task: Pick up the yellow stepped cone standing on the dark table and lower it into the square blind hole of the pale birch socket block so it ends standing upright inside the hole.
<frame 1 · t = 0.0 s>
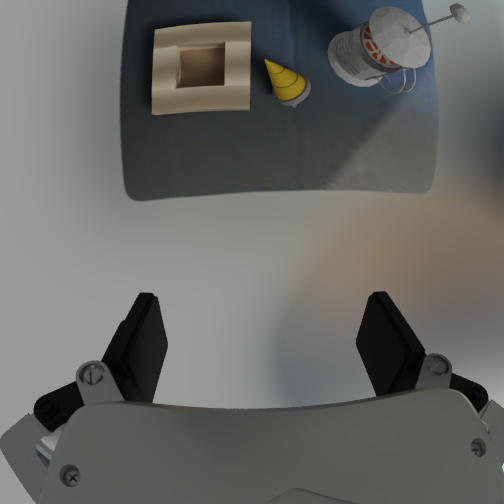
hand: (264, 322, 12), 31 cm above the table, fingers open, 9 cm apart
yellow stepped cone: (281, 89, 34), on the table
french press: (359, 63, 32), on the table
socket block: (204, 69, 32), on the table
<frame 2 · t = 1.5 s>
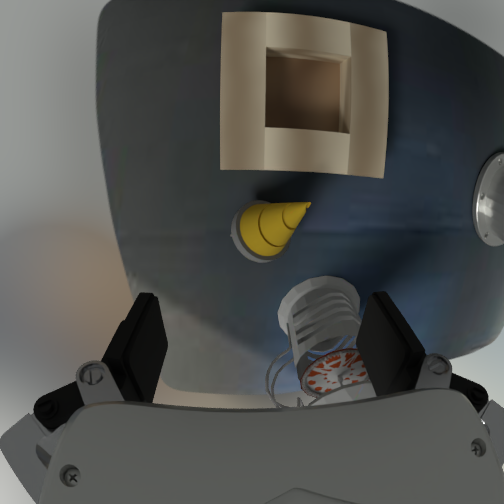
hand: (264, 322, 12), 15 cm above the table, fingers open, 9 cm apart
yellow stepped cone: (263, 211, 26), on the table
french press: (312, 313, 31), on the table
socket block: (301, 94, 21), on the table
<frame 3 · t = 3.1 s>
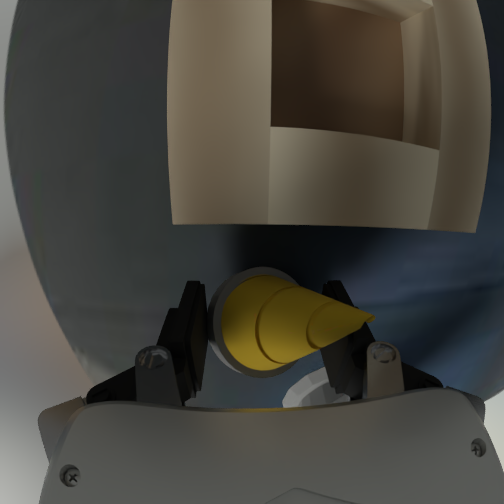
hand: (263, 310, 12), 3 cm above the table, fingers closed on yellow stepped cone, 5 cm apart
yellow stepped cone: (265, 278, 15), on the table, touching gripper
french press: (329, 397, 20), on the table
socket block: (335, 67, 10), on the table
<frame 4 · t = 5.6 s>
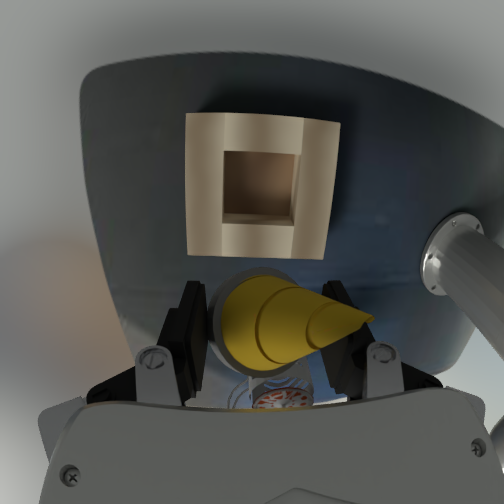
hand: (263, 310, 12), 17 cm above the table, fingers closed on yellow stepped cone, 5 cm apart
yellow stepped cone: (264, 278, 15), point 14 cm above the table, touching gripper
french press: (269, 350, 37), on the table
socket block: (258, 181, 27), on the table
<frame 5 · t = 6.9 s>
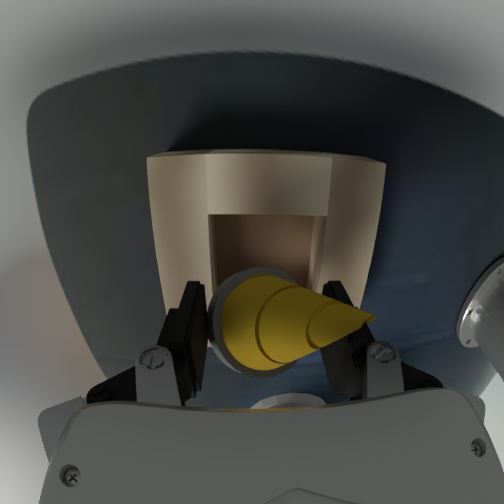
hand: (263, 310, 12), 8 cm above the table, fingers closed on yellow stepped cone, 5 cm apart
yellow stepped cone: (265, 278, 15), point 5 cm above the table, touching gripper
french press: (280, 414, 30), on the table
socket block: (263, 242, 20), on the table
when the fingers open (5 cm above the table, at t = 7.9 s): yellow stepped cone drops 1 cm, resting on socket block.
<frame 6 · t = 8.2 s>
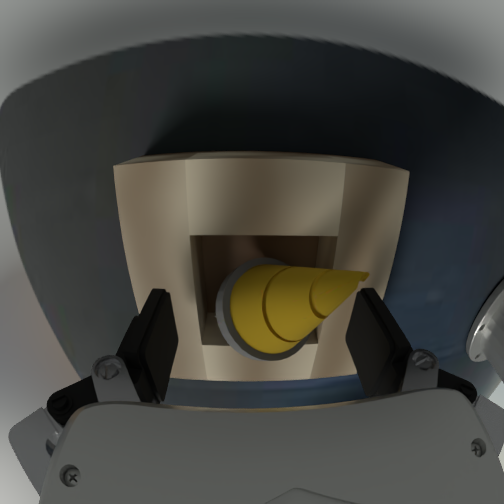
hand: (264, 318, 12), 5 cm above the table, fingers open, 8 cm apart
yellow stepped cone: (269, 272, 16), point 1 cm above the table, touching socket block
socket block: (259, 261, 17), on the table
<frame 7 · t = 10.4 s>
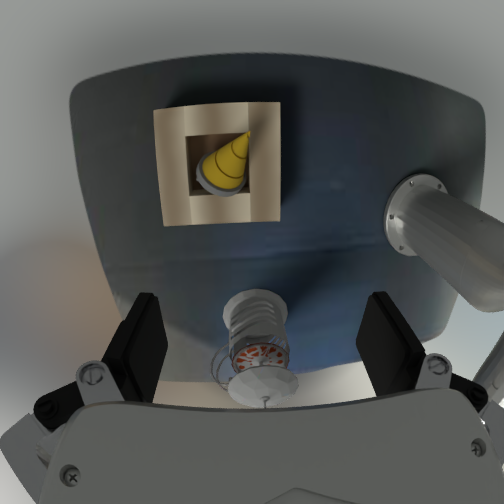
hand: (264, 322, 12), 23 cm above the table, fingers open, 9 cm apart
yellow stepped cone: (224, 163, 30), point 1 cm above the table, touching socket block
french press: (250, 316, 41), on the table
socket block: (219, 160, 31), on the table
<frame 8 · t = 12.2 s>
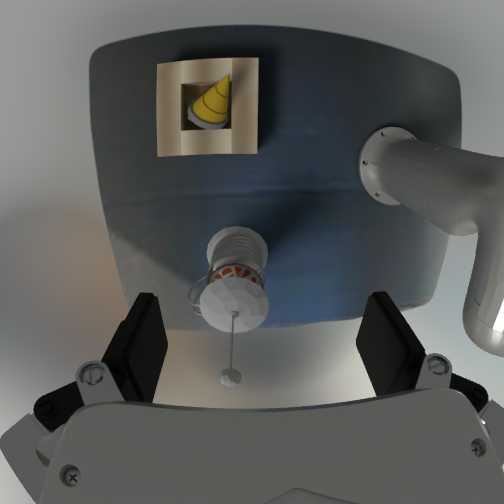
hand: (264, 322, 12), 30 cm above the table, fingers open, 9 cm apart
yellow stepped cone: (213, 108, 33), point 1 cm above the table, touching socket block
french press: (232, 256, 44), on the table
socket block: (209, 107, 34), on the table
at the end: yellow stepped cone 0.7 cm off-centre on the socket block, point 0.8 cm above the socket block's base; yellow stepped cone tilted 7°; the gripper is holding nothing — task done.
